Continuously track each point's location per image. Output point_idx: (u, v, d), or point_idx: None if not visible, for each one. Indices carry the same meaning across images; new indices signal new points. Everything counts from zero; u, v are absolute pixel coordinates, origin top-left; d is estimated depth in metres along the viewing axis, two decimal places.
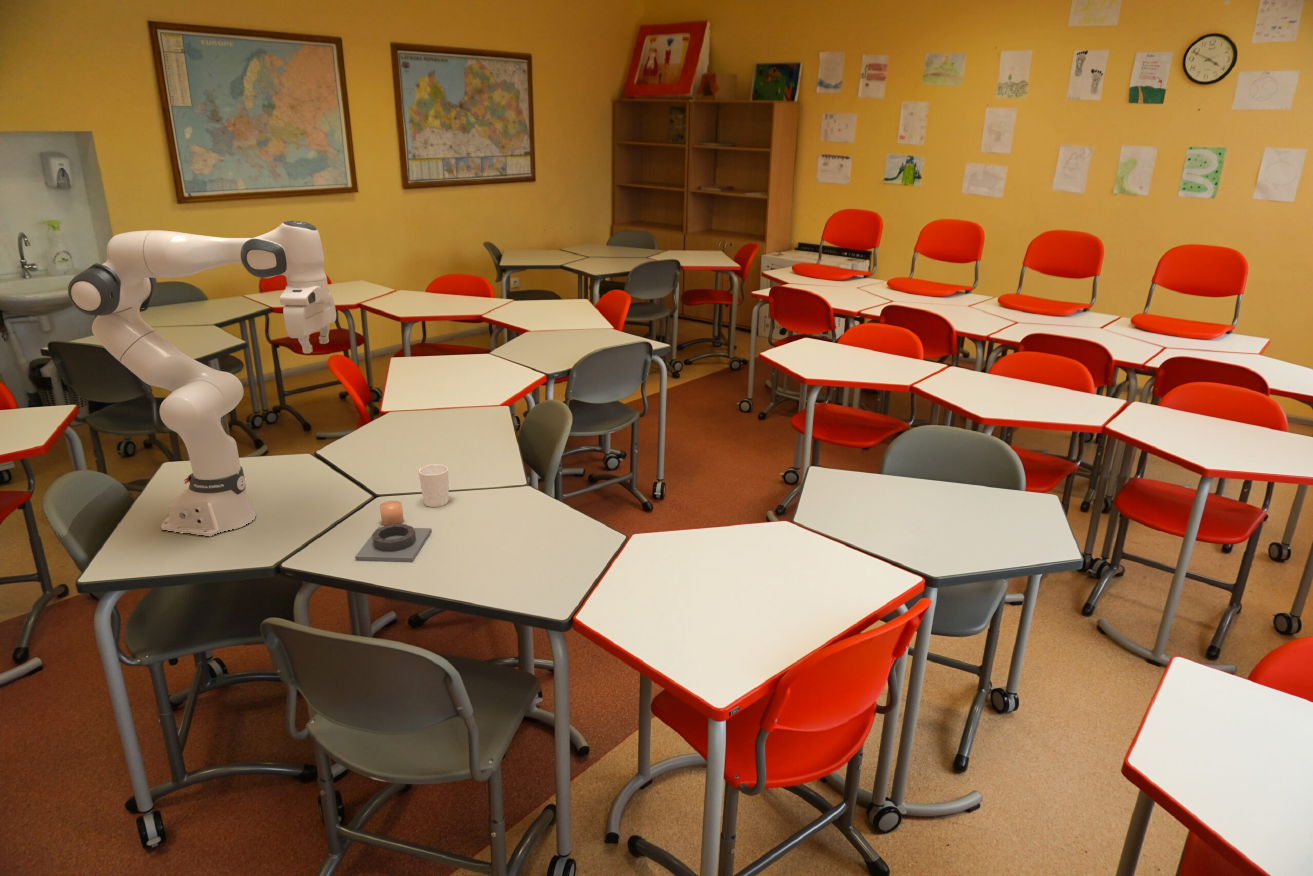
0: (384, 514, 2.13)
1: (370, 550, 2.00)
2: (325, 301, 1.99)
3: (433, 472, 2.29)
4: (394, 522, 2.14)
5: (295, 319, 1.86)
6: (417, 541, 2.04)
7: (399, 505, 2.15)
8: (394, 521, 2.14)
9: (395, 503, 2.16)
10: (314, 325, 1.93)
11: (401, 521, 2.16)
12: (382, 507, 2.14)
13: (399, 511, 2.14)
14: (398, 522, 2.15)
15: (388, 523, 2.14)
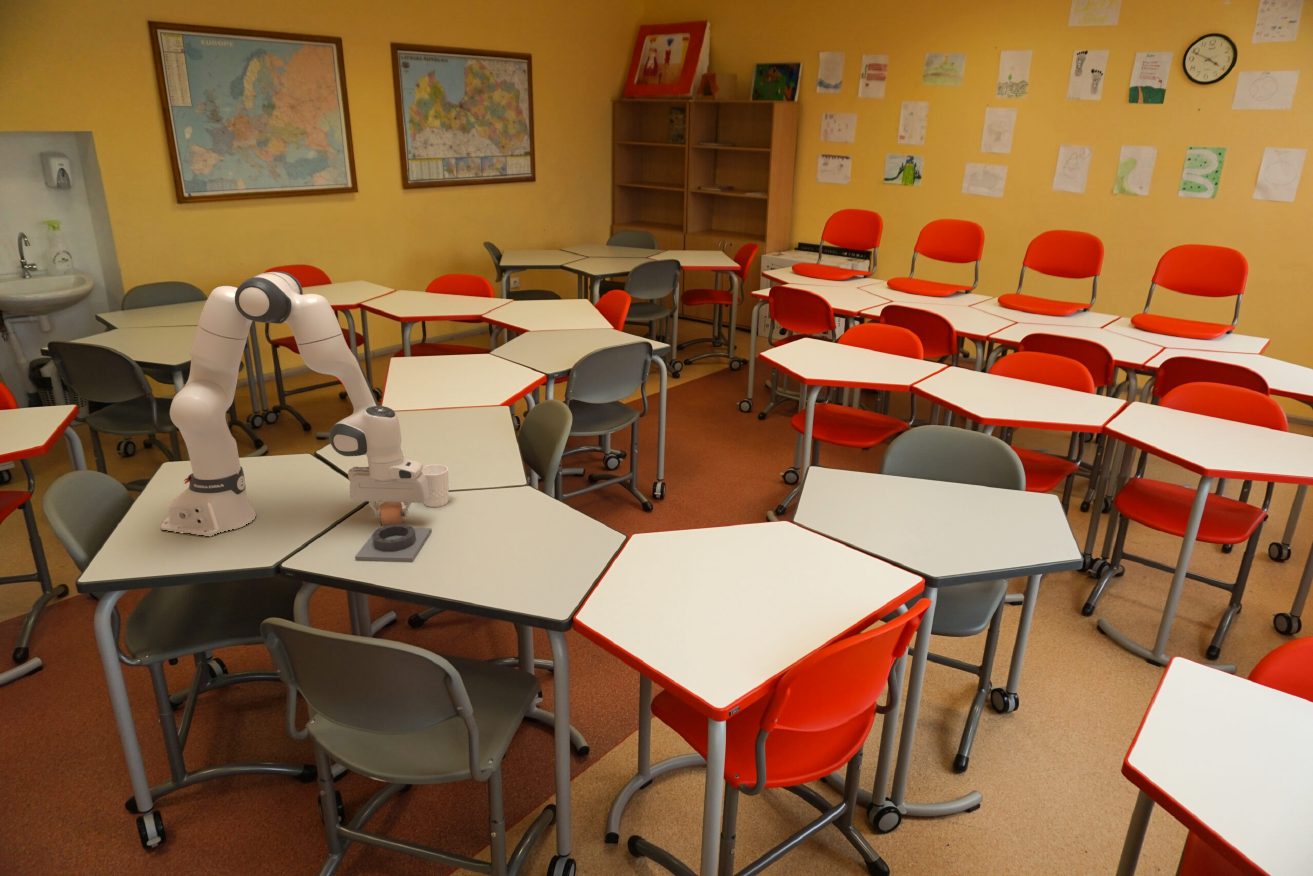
0: (384, 514, 2.13)
1: (370, 550, 2.00)
2: None
3: (433, 472, 2.29)
4: (394, 522, 2.14)
5: (426, 484, 2.13)
6: (417, 541, 2.04)
7: (399, 505, 2.15)
8: (394, 521, 2.14)
9: (395, 503, 2.16)
10: None
11: (401, 521, 2.16)
12: (382, 507, 2.14)
13: (399, 511, 2.14)
14: (398, 522, 2.15)
15: (388, 523, 2.14)
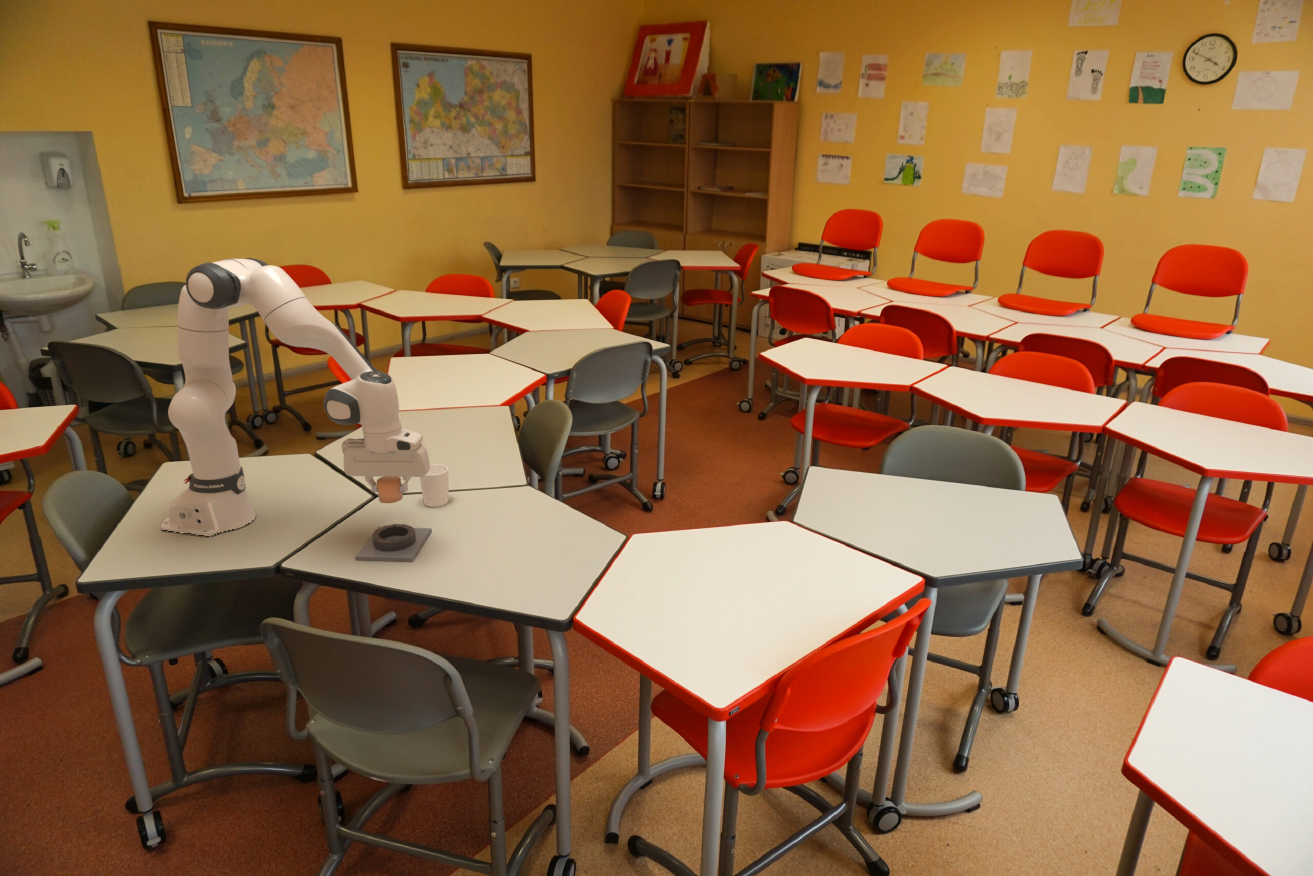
0: (381, 489, 1.96)
1: (370, 550, 2.00)
2: None
3: (433, 472, 2.29)
4: (392, 498, 1.97)
5: (426, 456, 1.96)
6: (417, 541, 2.04)
7: (397, 480, 1.98)
8: (393, 497, 1.97)
9: (393, 478, 1.99)
10: None
11: (400, 497, 1.99)
12: (379, 482, 1.97)
13: (397, 486, 1.98)
14: (397, 498, 1.98)
15: (386, 499, 1.97)
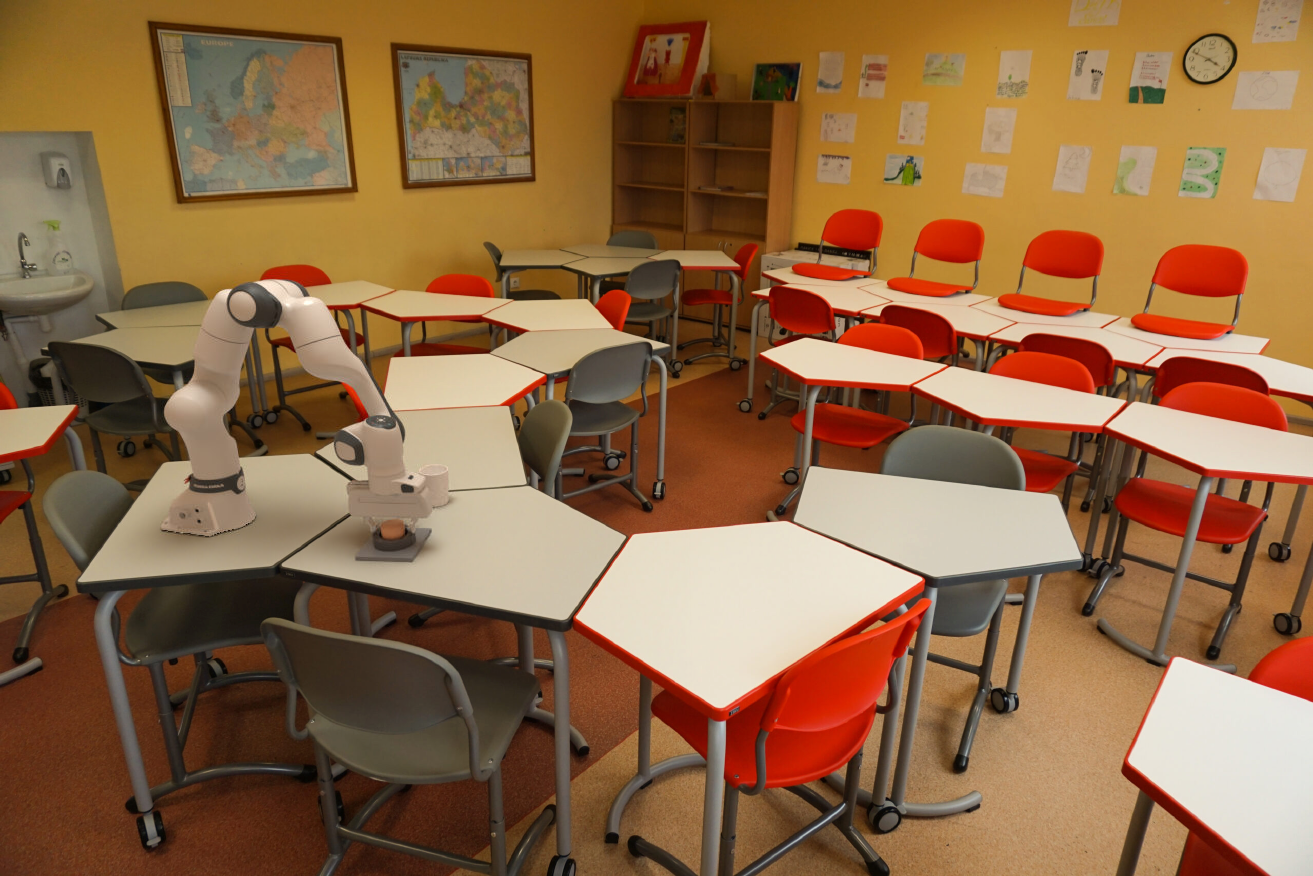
0: (385, 533, 2.00)
1: (370, 550, 2.00)
2: None
3: (433, 472, 2.29)
4: None
5: (429, 498, 2.00)
6: (417, 541, 2.04)
7: (401, 524, 2.02)
8: None
9: (397, 521, 2.03)
10: None
11: None
12: (383, 526, 2.01)
13: (401, 530, 2.02)
14: None
15: None
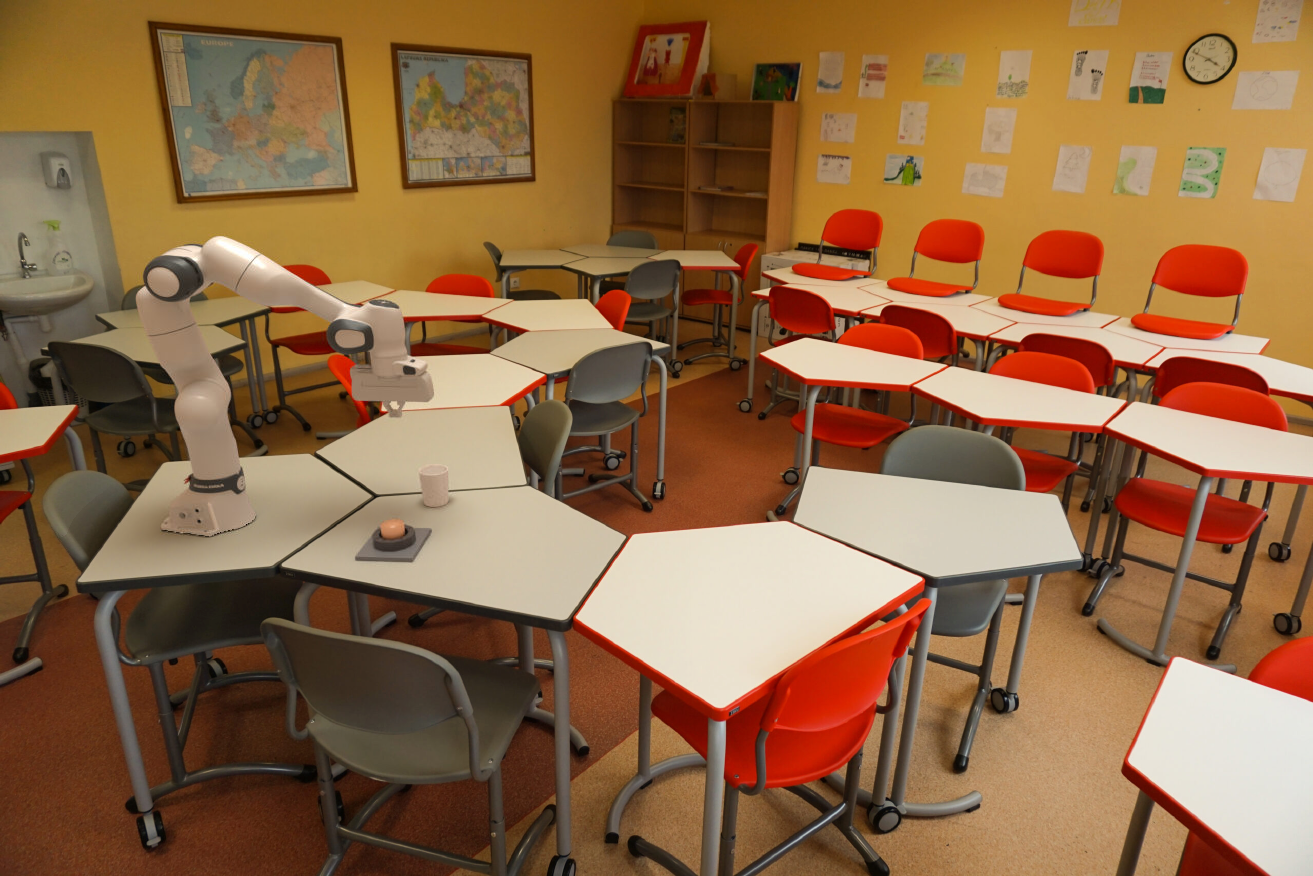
0: (384, 533, 2.00)
1: (370, 550, 2.00)
2: None
3: (433, 472, 2.29)
4: None
5: (430, 382, 2.06)
6: (417, 541, 2.04)
7: (401, 524, 2.02)
8: None
9: (397, 522, 2.03)
10: None
11: None
12: (383, 526, 2.01)
13: (400, 530, 2.02)
14: None
15: None
